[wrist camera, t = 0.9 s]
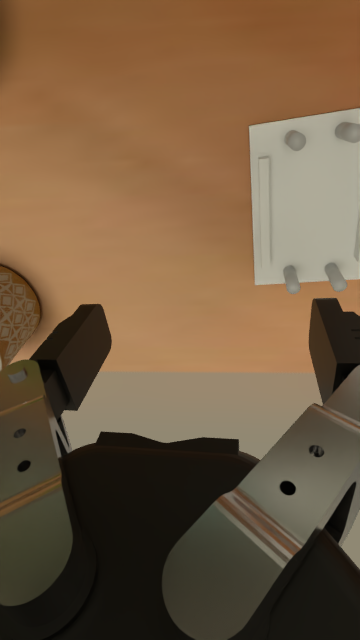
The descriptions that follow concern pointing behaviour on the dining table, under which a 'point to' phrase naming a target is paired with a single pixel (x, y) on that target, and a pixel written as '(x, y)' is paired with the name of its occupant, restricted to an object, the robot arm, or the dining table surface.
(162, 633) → the robot arm
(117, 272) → the dining table surface
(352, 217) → the white pegged base plate
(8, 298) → the planter
